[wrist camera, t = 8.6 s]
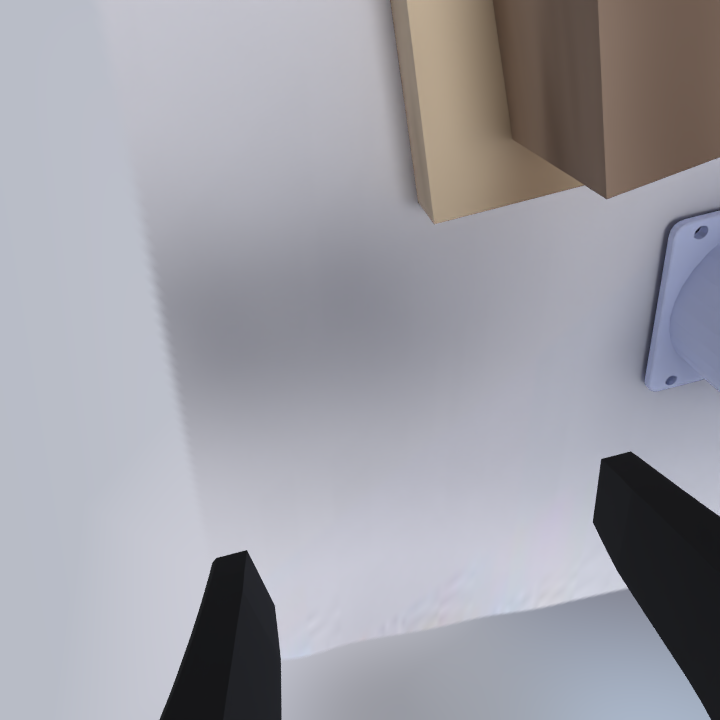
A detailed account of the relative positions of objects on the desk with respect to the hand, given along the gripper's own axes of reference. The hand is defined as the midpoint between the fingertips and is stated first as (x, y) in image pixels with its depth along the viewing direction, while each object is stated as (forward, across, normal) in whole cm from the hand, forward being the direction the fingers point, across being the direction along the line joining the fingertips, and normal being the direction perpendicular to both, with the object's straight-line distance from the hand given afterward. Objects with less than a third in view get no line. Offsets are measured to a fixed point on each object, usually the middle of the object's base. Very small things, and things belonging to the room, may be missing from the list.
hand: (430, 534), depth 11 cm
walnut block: (+8, -7, -7) cm, 13 cm away
